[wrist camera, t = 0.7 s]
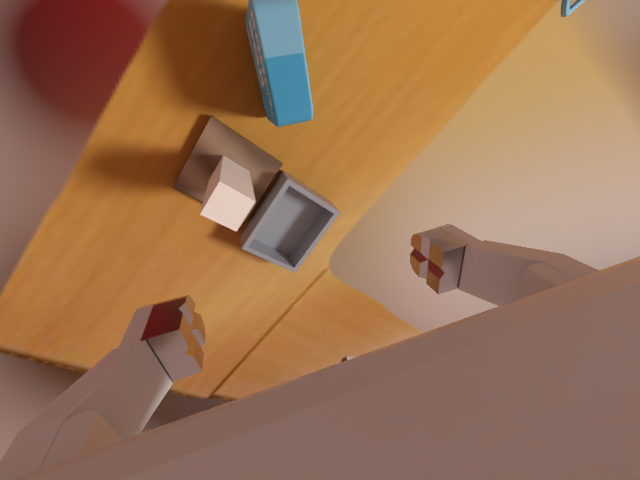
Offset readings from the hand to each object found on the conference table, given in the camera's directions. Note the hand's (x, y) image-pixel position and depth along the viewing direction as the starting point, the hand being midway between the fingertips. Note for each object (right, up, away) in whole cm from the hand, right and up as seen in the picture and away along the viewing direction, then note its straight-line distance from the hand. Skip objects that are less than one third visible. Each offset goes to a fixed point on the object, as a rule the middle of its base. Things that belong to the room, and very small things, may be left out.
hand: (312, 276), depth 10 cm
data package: (-7, +26, +29) cm, 39 cm away
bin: (-6, +5, +40) cm, 41 cm away
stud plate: (-14, +12, +34) cm, 38 cm away
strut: (-14, +11, +32) cm, 37 cm away
